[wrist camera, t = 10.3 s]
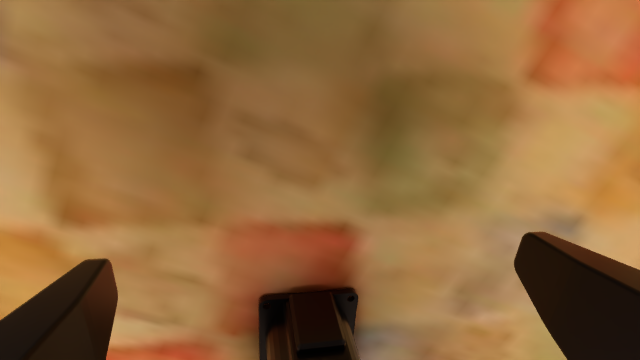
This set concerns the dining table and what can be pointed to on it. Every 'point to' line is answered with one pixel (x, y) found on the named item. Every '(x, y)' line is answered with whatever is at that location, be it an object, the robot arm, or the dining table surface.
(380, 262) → the dining table surface
